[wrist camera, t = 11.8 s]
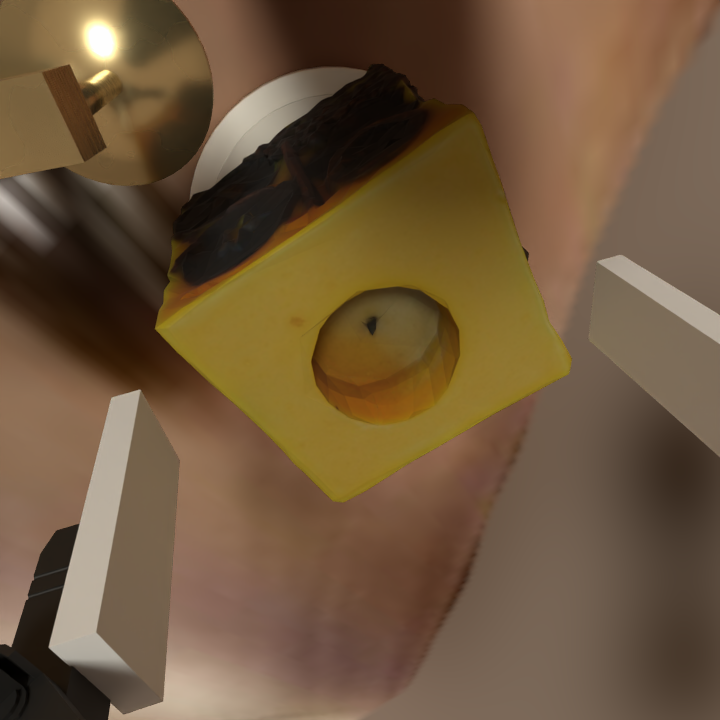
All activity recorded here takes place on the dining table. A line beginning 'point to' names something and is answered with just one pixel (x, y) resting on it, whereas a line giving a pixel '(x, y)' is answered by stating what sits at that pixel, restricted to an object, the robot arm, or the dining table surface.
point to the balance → (101, 89)
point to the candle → (361, 285)
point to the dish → (265, 118)
